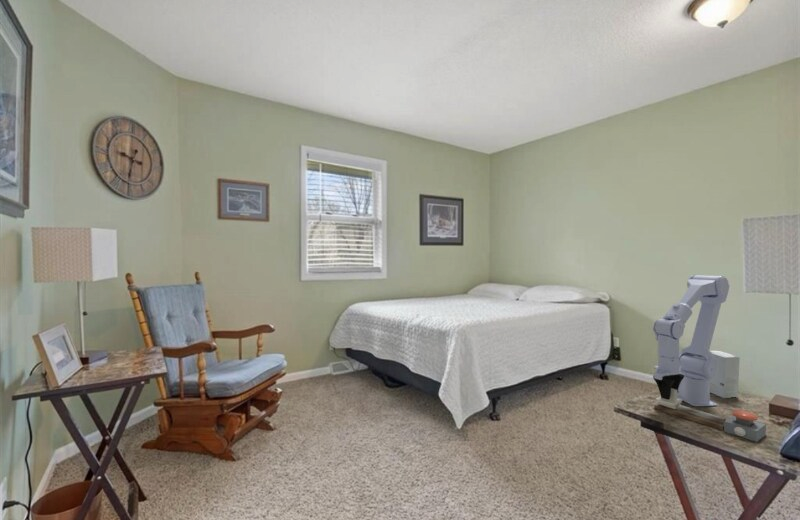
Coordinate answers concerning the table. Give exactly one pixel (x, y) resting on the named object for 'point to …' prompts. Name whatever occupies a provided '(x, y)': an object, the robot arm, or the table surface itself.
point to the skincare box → (725, 375)
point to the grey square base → (745, 429)
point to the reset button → (744, 417)
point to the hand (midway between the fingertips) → (668, 396)
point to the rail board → (694, 415)
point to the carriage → (670, 400)
